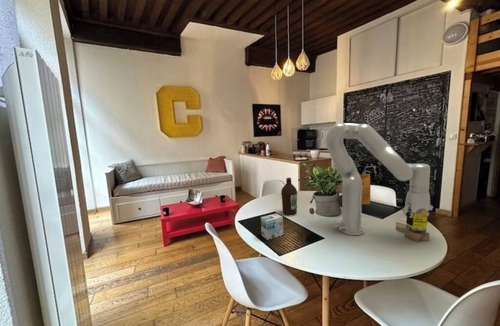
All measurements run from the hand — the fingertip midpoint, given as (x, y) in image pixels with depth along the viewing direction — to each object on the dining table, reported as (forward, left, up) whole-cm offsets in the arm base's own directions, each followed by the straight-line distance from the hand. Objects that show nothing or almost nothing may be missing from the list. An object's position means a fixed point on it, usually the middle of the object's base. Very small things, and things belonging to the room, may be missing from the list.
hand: (416, 223), depth 111 cm
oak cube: (+1, +9, -8) cm, 12 cm away
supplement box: (0, 0, -3) cm, 3 cm away
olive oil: (-49, +50, -8) cm, 70 cm away
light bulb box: (-68, +22, -8) cm, 72 cm away
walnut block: (0, 0, -8) cm, 8 cm away
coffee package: (+8, +55, -8) cm, 56 cm away
